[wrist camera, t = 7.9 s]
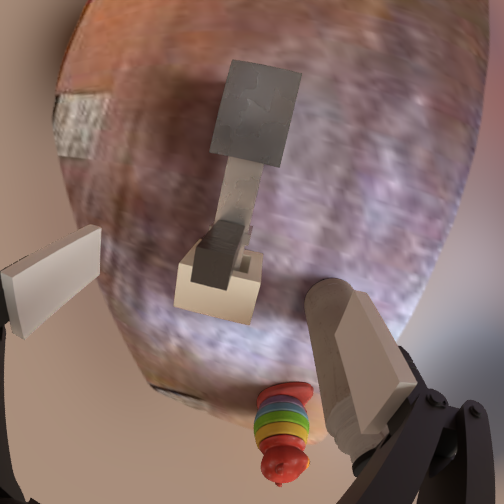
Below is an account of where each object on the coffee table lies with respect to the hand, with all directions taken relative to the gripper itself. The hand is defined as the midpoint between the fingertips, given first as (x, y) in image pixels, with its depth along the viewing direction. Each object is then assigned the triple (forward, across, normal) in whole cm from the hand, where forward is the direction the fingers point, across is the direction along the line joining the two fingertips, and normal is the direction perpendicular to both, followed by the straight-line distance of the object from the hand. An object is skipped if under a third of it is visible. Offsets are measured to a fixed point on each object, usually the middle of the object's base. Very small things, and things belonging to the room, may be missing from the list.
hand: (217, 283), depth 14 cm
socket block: (+26, -1, -10) cm, 27 cm away
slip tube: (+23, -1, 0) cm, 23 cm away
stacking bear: (+25, +14, -34) cm, 44 cm away
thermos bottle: (+26, +15, -12) cm, 32 cm away
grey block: (+26, -2, +10) cm, 28 cm away
